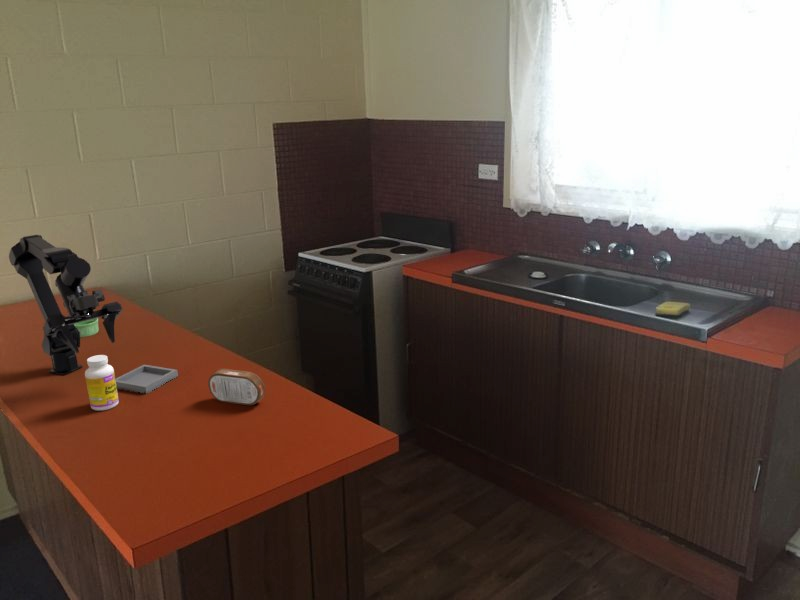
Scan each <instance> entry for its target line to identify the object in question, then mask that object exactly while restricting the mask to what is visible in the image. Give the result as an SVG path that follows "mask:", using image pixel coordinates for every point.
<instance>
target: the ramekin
mask: <svg viewBox="0 0 800 600" xmlns="http://www.w3.org/2000/svg"><path fill="white" fill-rule="evenodd" d="M74 326H75V327H76V328H77V329H78V331H79V332H80V338H86V337H87V338H88V337H90V336H94V335H96V334H97V333H98V332H99V318H95V319H91V320H88V321H84V322H80V323H76V324H74Z"/></svg>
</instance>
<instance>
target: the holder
mask: <svg viewBox="0 0 800 600" xmlns="http://www.w3.org/2000/svg"><path fill="white" fill-rule="evenodd" d="M177 376H178V377H179V373H178V369H174V368H168V367H167V368H166V367H161V366H157V365H149V364H142V365H140V366H138V367H136V368H134V369H132V370H131V371H130V370H129V371H128V372H126V373H123V375H120V376H118V377H115V380H116V386H117V390H122V389H123V390H122V391H127V390H130V391H129V392H133V391H134V393H138V392H140V393H139V394H144V393H146V394H145V395H147V393H148V394H150V393H151V392H153V391H155V390H157V389H158V388H160V387H162V386H163V384H164V385H165V383H166V382H168V381H169V382H171V381H173V380H175V379H177V378H178V377H177ZM176 377H177V378H176ZM174 378H175V379H174ZM172 379H173V380H172ZM170 380H171V381H170ZM169 382H168V383H169ZM166 384H167V383H166ZM161 385H162V386H161ZM156 388H157V389H156ZM154 389H155V390H154ZM152 390H153V391H152Z"/></svg>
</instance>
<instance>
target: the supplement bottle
mask: <svg viewBox="0 0 800 600" xmlns="http://www.w3.org/2000/svg"><path fill="white" fill-rule="evenodd" d="M108 362H109V359H108V356H107V355H105V354H98V355H93V356H90V357H88V358H87V359H86V363H87V365H88V366H87V367H88V368H86V370H85V371H84V378H85V382H86V387H87V395H88V399H89V404H90V408H91V409H92V410H93V411H98V412H99V411H101V412H102V411H108V410H110V409H113V408H115V407H116V406H118V404H119V402H120V401H119V393H118V389H117V386H116V380H115V379H116V376H115V369H114V367H113V366H112V365H111V364H108Z"/></svg>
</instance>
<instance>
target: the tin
mask: <svg viewBox="0 0 800 600" xmlns="http://www.w3.org/2000/svg"><path fill="white" fill-rule="evenodd" d="M207 382H208V383H207V384H208V389H209V392H210V394H211V395H212V396H213V397H214V398H215V399H216V400H217V401H219V402H222V403H230V404H236V405H243V406H254V405H255V404H257V403H258V402H259V401H261V400H263V398H264V396H265V394H266V387H265V384H264V382H263V380H262V379H261V378H260V376H258V375H257V374H256V373H253V372H251V371H244V370H235V369H230V368H219V369H217V370H216V371H214V372H213V374H211V375H210V376H209V378H208V381H207Z"/></svg>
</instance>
